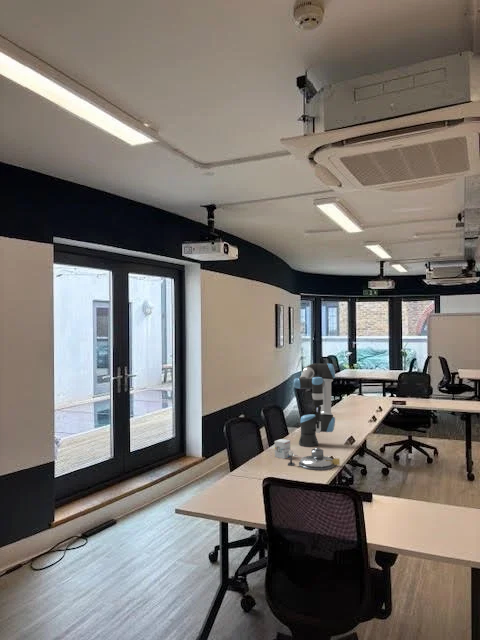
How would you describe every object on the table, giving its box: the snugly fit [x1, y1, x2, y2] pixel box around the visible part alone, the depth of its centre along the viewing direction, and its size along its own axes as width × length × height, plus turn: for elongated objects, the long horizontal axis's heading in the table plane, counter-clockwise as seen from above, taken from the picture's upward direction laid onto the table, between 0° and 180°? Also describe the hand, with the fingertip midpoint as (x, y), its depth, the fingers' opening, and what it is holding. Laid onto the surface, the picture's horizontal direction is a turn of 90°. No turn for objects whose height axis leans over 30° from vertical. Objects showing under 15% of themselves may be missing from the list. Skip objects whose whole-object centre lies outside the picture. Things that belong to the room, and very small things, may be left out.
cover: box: [311, 447, 325, 459], centre depth 325 cm, size 8×8×6 cm
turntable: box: [299, 455, 341, 468], centre depth 318 cm, size 22×26×3 cm
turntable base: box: [298, 461, 336, 471], centre depth 319 cm, size 24×24×1 cm
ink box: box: [274, 438, 292, 460], centre depth 341 cm, size 8×8×12 cm
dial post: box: [287, 450, 298, 467], centre depth 320 cm, size 4×6×10 cm, turn 75°
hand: (318, 431), depth 334 cm, fingers open, 6 cm apart
